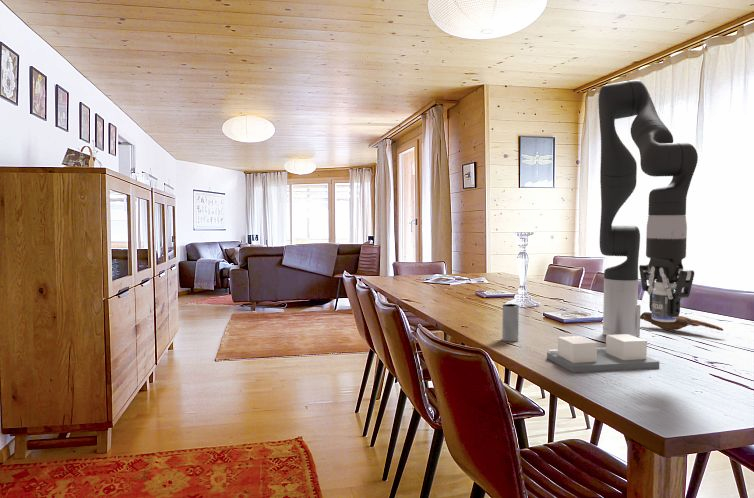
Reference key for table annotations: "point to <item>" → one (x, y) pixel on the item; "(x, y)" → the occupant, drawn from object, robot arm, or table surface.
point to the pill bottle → (660, 303)
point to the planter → (510, 322)
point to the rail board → (602, 354)
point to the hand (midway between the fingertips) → (663, 313)
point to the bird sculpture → (676, 322)
